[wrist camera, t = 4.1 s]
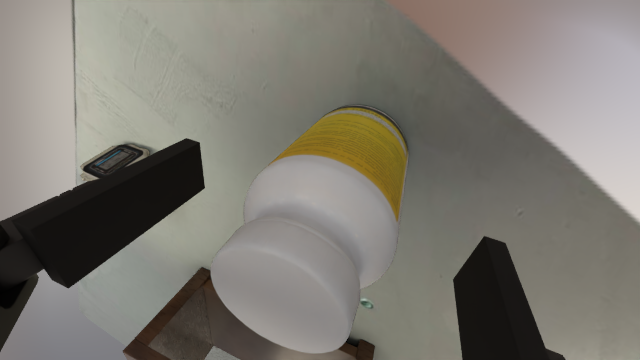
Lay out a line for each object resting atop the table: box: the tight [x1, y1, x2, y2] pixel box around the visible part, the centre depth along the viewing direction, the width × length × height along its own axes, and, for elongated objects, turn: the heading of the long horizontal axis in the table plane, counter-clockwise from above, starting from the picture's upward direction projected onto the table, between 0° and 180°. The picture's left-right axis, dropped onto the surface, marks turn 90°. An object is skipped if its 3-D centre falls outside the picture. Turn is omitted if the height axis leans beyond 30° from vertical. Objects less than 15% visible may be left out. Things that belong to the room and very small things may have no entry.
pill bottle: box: [210, 105, 409, 353], centre depth 12 cm, size 6×6×12 cm
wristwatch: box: [81, 144, 150, 181], centre depth 24 cm, size 9×6×5 cm
